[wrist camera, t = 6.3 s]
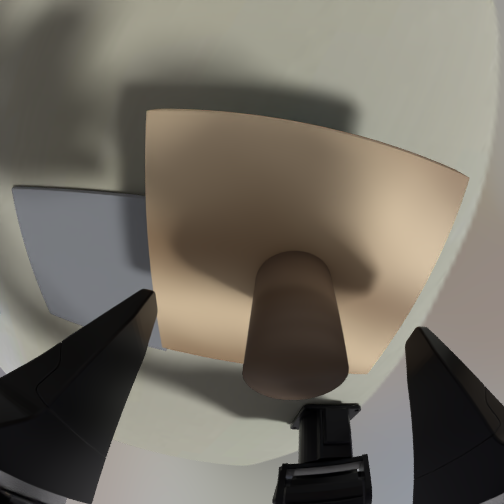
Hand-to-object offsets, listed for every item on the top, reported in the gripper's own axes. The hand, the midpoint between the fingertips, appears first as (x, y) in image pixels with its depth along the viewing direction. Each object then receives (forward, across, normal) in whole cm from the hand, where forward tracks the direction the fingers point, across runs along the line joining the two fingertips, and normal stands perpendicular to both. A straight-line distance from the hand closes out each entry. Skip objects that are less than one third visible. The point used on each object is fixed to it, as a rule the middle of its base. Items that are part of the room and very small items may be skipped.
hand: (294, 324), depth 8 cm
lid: (+3, 0, 0) cm, 3 cm away
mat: (+7, +14, +6) cm, 17 cm away
